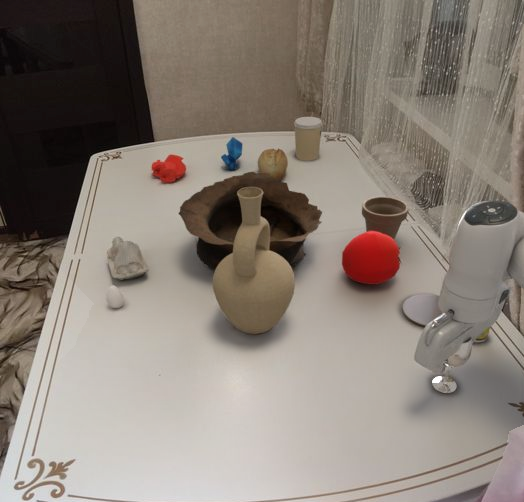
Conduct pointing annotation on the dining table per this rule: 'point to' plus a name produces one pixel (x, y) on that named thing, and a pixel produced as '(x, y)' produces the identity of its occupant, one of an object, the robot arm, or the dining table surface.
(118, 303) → the egg
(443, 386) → the wineglass
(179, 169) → the animal figurine
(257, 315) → the vase
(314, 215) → the bowl
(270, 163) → the bread roll
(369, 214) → the flower pot
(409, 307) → the coaster
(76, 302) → the dining table surface
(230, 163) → the crystal
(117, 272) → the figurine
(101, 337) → the dining table surface
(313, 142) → the coffee cup
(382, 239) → the red ball
